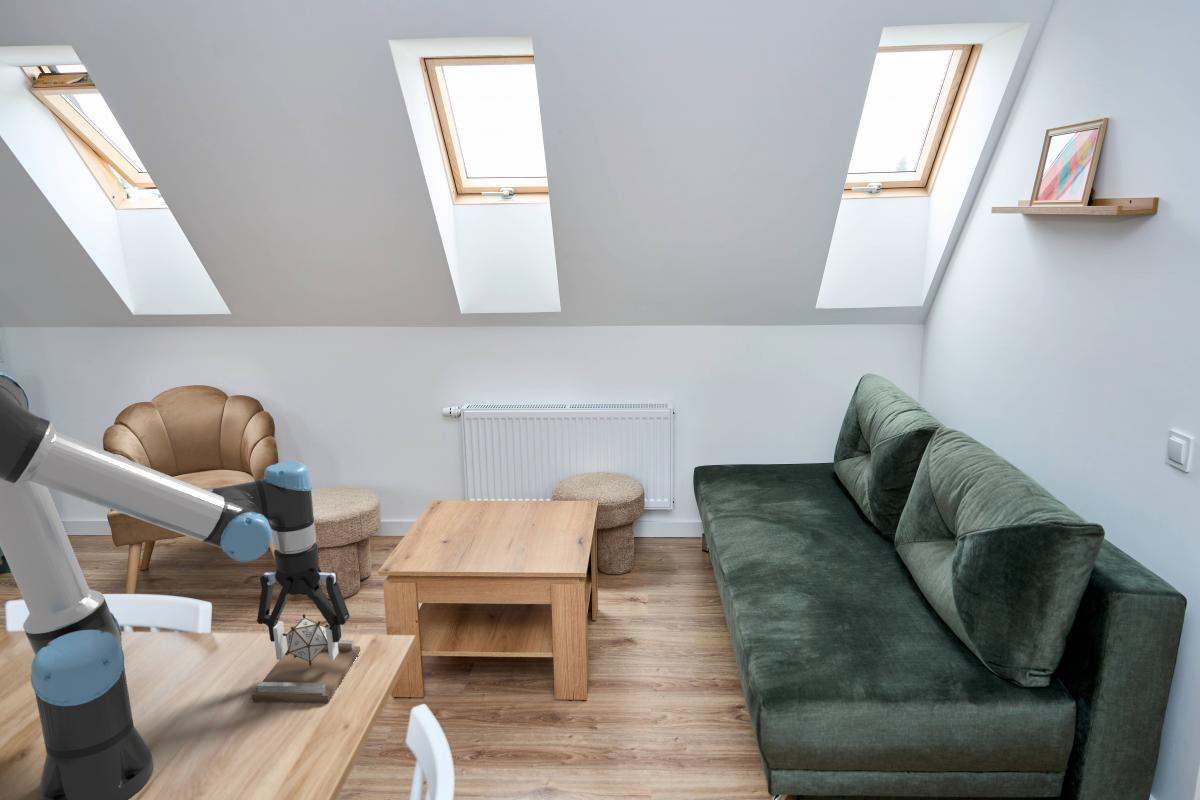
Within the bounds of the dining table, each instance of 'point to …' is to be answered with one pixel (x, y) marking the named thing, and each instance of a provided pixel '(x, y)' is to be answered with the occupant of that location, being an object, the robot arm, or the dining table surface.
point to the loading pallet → (307, 677)
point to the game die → (306, 639)
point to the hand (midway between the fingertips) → (307, 656)
